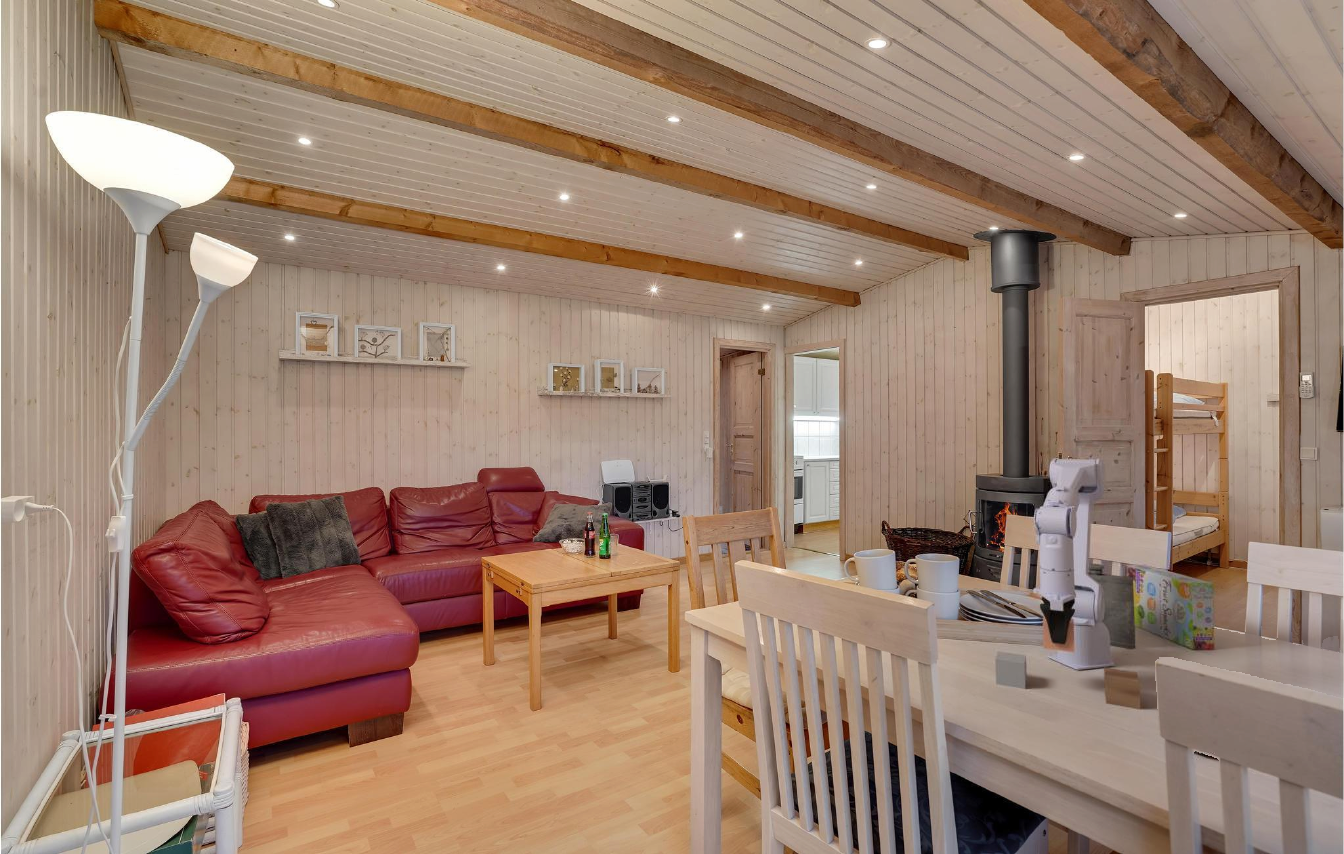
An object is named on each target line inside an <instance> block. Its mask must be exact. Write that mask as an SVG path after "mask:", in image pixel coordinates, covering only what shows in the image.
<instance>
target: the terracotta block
mask: <svg viewBox="0 0 1344 854" xmlns="http://www.w3.org/2000/svg"><path fill="white" fill-rule="evenodd" d="M1042 634H1043V635H1042V638H1043V639H1042V645H1043V649H1047V650H1053V651H1054V650H1055V651H1057V650H1060V651H1067V652H1074V653H1075V648H1074V619H1071V620H1070V623H1069V627H1068V632H1067V639H1066V642H1065V644H1057V643H1052V640H1051V637H1050V633H1049V628H1048V624H1047V621H1046V618H1045V616H1044V615H1043V618H1042Z"/></svg>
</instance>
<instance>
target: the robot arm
mask: <svg viewBox="0 0 1344 854" xmlns="http://www.w3.org/2000/svg"><path fill="white" fill-rule="evenodd" d="M1048 473H1049V480H1050V483H1051V486H1052V488H1051V489H1050V490H1049V491H1048V492H1047V495H1046V498H1045V499H1044V502H1043V506H1040V507H1039V508H1035V510H1034V515H1033V524H1034V525H1033V526H1034V531H1035V536H1036V537H1035V538H1036V544H1037V545H1038V557H1039V558H1038V560H1039V563H1038V564H1039V587H1034V588H1033V590H1032V591H1033V594H1037V595H1040V596H1041V601H1042V603H1040V604H1039V608H1040V611H1041V613H1042V614H1043V617H1044V616H1045V618H1046V621H1047V624H1048V628H1049V633H1050V637H1051V640H1052V643H1057V644H1065V642H1066V639H1067V632H1068V627H1069V623H1070V620H1071V619H1074V648H1075V653H1074V652H1067V651H1060V650H1056V652H1057V653H1053V654H1048V655H1047V658H1048V659H1051V660H1053V661H1055V662H1057V663H1060V664H1062V665H1064V666H1067V667H1070V668H1072V669H1074V670H1077V671H1080V670H1081V671H1082V670H1089V669H1090V670H1091V669H1098V668H1104V667H1105V668H1108V667H1114V666H1115V663H1114V662H1112V661H1111V646H1110V635H1109V631H1108V629H1107V627H1106V626H1105V624H1104V623H1102V622H1101V621H1102V620H1103V619H1104V611H1105V604H1104V591H1103V588H1102V586H1101V585H1100V584H1099V583H1098V582H1097V581H1095V580H1094V579H1093V578H1091V577H1090V576H1089V564H1090V552H1091V551H1090V550H1091V530H1092V529H1091V527H1092V512H1093V509H1094V505H1095V503H1096V502H1099V501H1101V500H1103V499H1104V495H1105V491H1106V490H1105V486H1106V485H1105V484H1106V483H1105V481H1106V467H1105V462H1104V461H1103V459H1101V458H1097V459H1091V458H1087V459H1086V458H1085V459H1083V458H1079V459H1078V458H1077V459H1076V458H1075V459H1073V458H1069V459H1068V458H1055V457H1054V458H1053V459H1052V460H1051V461H1050V464H1049V472H1048ZM1075 589H1076V590H1075ZM1083 590H1084V591H1083Z"/></svg>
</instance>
